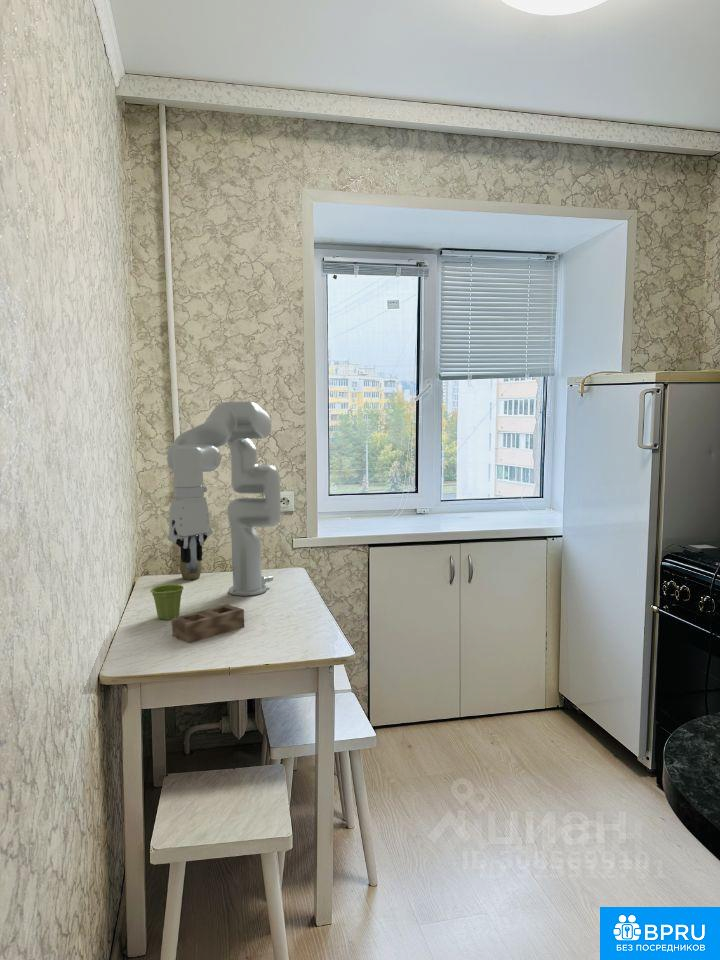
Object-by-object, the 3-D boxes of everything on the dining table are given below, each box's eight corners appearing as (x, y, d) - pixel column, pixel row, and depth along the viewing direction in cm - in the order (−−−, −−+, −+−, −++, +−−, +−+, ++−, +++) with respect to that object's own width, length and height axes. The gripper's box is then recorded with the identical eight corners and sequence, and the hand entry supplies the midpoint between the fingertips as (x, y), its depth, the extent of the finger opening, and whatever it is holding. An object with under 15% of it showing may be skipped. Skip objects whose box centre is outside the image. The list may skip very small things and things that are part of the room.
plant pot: (151, 614, 207) (150, 586, 206) (183, 610, 210) (182, 583, 209) (152, 623, 198) (150, 593, 197) (185, 619, 201) (184, 590, 200)
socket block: (227, 621, 199) (227, 604, 198) (244, 626, 193) (243, 609, 193) (172, 636, 186) (171, 618, 185) (189, 643, 180) (188, 624, 180)
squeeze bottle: (181, 576, 254) (179, 528, 253) (203, 575, 255) (201, 527, 254) (178, 581, 246) (176, 531, 245) (201, 580, 247) (199, 531, 246)
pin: (194, 570, 186) (192, 534, 185) (200, 572, 184) (198, 535, 183) (184, 572, 184) (182, 535, 183) (190, 574, 182) (189, 536, 181)
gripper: (207, 489, 191) (209, 554, 193) (153, 495, 179) (157, 564, 181) (223, 491, 186) (225, 558, 187) (169, 497, 174) (172, 568, 176)
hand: (191, 560), depth 184 cm, fingers closed on pin, 3 cm apart
